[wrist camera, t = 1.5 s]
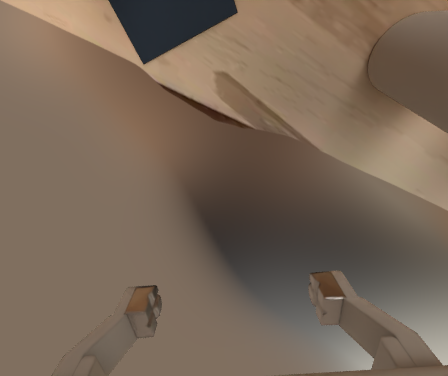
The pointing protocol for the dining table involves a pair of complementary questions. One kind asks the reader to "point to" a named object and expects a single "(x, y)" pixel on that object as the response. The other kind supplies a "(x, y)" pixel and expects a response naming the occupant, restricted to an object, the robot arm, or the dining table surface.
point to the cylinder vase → (415, 65)
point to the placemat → (168, 22)
